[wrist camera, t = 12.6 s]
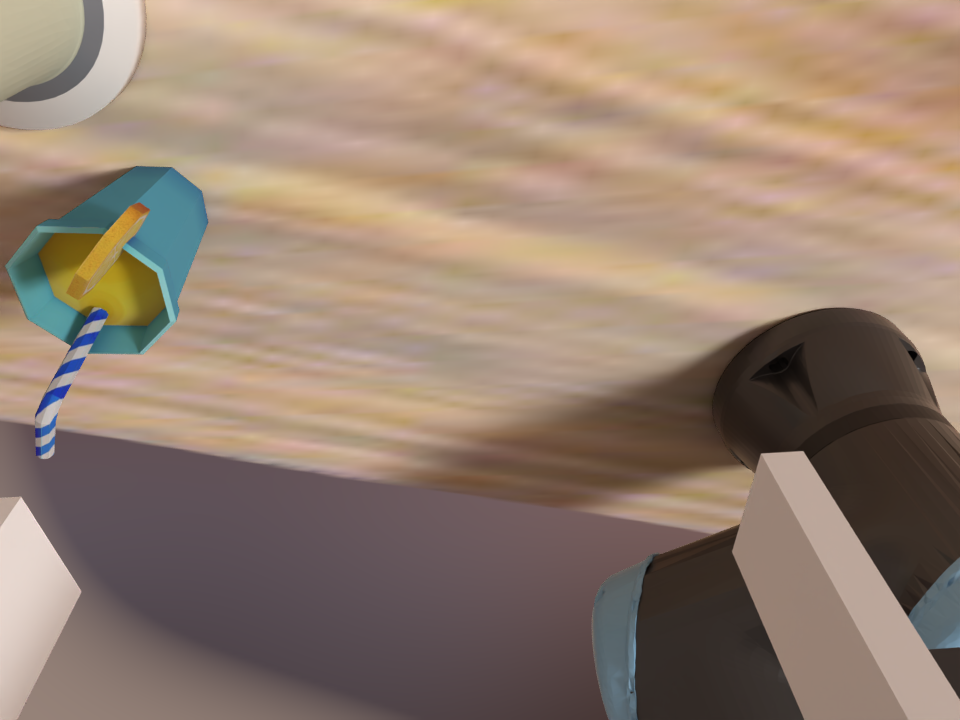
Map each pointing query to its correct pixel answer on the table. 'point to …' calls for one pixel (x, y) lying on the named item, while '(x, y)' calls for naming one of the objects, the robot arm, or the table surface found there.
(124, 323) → the cup
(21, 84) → the can
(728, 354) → the table surface
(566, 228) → the table surface
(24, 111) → the white and grey plate
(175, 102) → the table surface
